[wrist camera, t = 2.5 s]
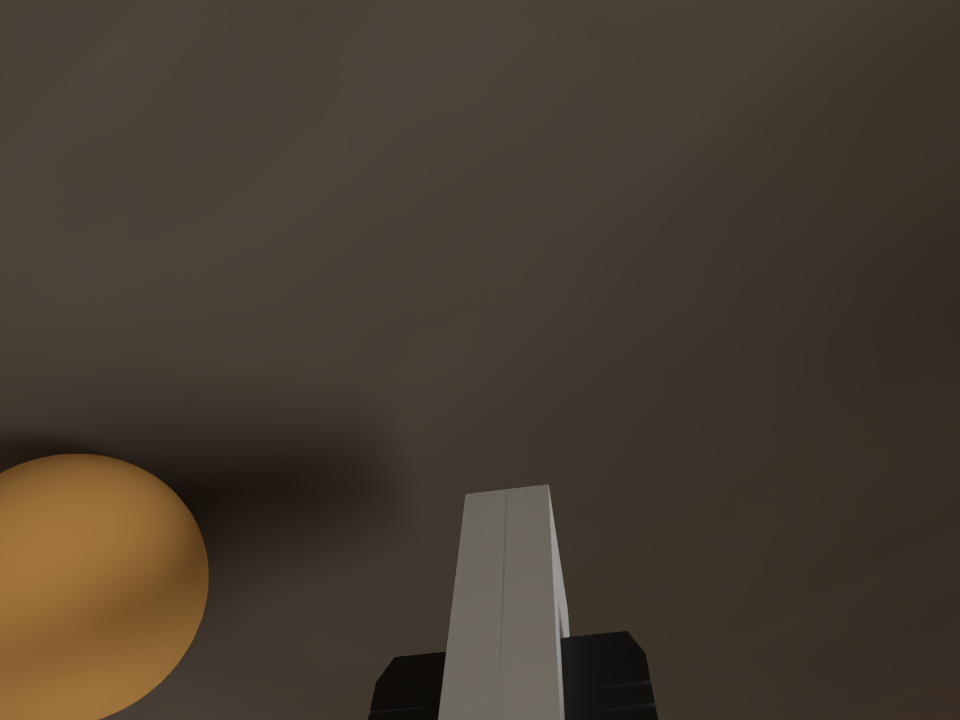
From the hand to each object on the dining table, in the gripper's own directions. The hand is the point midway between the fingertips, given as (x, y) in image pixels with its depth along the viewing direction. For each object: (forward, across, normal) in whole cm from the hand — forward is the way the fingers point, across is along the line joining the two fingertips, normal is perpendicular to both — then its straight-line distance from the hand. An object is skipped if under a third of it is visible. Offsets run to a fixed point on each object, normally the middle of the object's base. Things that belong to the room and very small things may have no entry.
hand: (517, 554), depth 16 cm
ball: (+1, +10, 0) cm, 10 cm away
